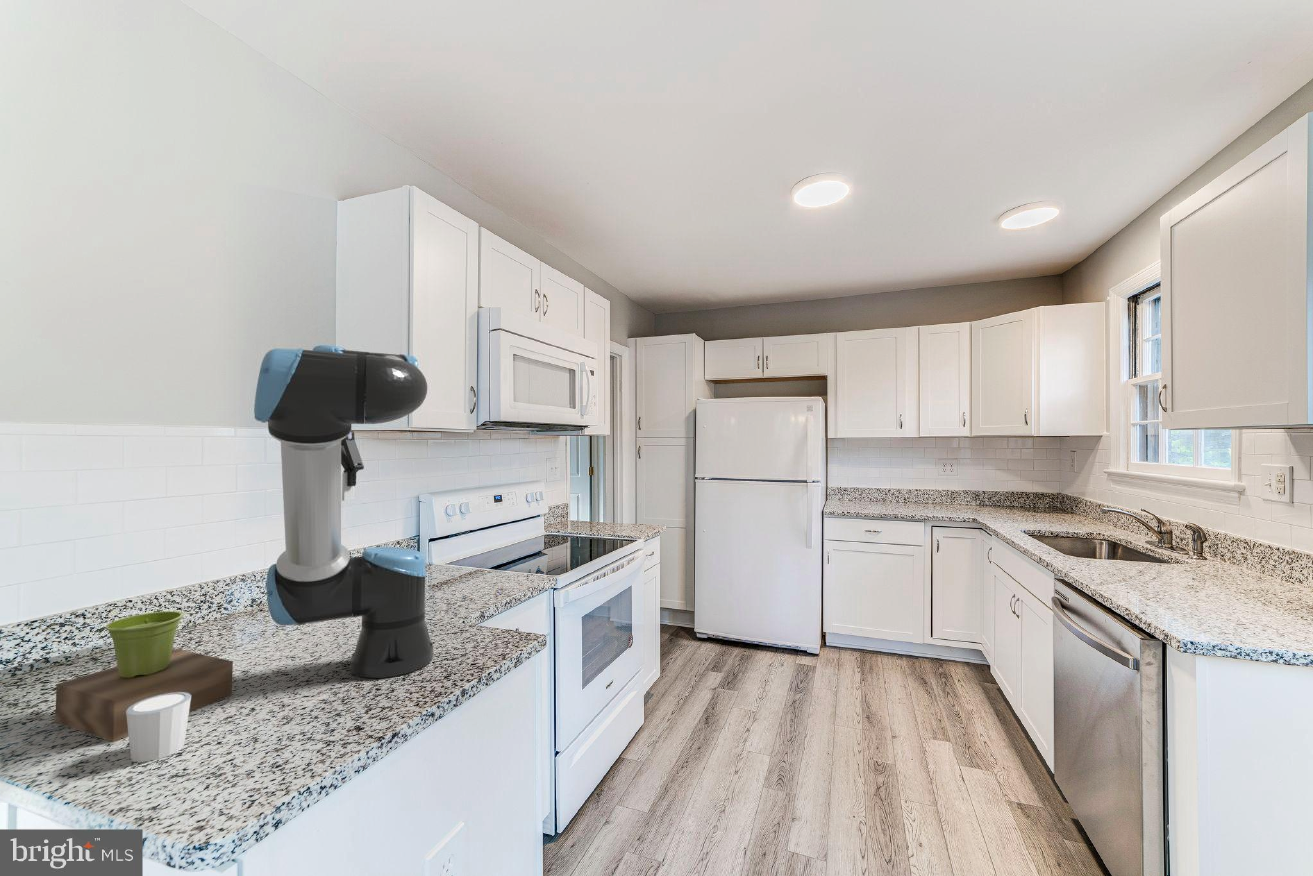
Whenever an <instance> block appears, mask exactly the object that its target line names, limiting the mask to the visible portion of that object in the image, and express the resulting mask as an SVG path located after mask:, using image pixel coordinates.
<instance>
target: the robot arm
mask: <svg viewBox="0 0 1313 876" xmlns="http://www.w3.org/2000/svg"><path fill="white" fill-rule="evenodd" d="M418 363H419V362H418V358H417V357H416V356H413V355H406V354H396V353H395V354H393V353H381V352H369V351H359V350H348V349H346V348H344V347H340V346H335V345H327V344H326V345H324V344H323V345H316V346H313V348H312V350H311V349H303V347H301V348H298V349H297V348H274V349H271V350H269V351H267V352H266V353H265V355H264V357H263V358H262V361H261V365H260V369H259V371H258V372H259V373H258V378H257V385H256V390H255V396H254V404H253V405H254V406H253V407H254V408H253V413H254V419H255V420H256V421H257V422H261V423H265V424H266V423H267V429H268V433H269V435H270V436H271V437H272V438H273V439H275V440H276V441H279V442H280V457H281V459H280V460H281V473H282V476H281V477H282V478H281V479H282V480H281V481H282V498H283V499H282V500H283V518H284V519H283V520H284V539H285V540H284V541H285V542H284V543H285V545H284V546H285V550H284V551H283V552H282V553H281V554H280V555H279V556H278V558H277V560H276V563H273V564H272V565H270V566H269V568H268V569H267V570H268V571H267V574H266V582H265V583H266V585H265V586H266V587H265V588H266V589H265V590H266V595H267V596H266V601H267V606H268V611H269V615H270V617H271V619H272V620H273V622H274V623H275V624H277V625H279V626H302V625H303V626H304V625H306V624H312V623H313V624H315V623H319V622H322V623H323V622H327V621H334V620H341V619H342V620H343V619H350V618H359V617H361V629H360V633H359V635H358V640H357V643H356V644H355V645H356V646H355V650H354V651H353V653H352V656H350V657H351V658H350V672H351V674H352V675H354V676H357V677H360V678H366V679H381V678H382V679H383V678H390V677H396V676H401V675H405V674H408V673H409V674H410V673H412V672H414V671H418V670H420V669H422V668H424V667H426V666H427V665H429V664H430V663H431V662H432V661H433V659H434V644H433V642H432V641H431V637H430V634H429V630H428V627H427V624H426V617H425V615H426V577H427V575H428V574H427V571H426V557H425V556H424V554H423V553H422V552H420V551H418V550H416V549H411V548H405V547H398V546H394V547H393V546H377V547H374V546H373V547H368V548H367V547H366V548H365V549H364V550H363V552H362V553H361V556H355V557H354V556H353V557H351V555H350V551H349V549H348V548H347V547H346V546H345V545H343V544H342V502H343V501H344V502H345V501H346V502H347V501H355V499H356V498H355V496H356V493H355V492H356V491H355V488H356V487H355V486H356V485H357V474H358V472H359V471H360V470H361V471H362V470H364V469H365V465H364V463H363V461H362V457H361V455H360V452H359V451H360V450H359V448H358V446H357V442H356V439H355V437H356V436H355V432H354V430H352V425H353V424H357V425H375V424H383V423H388V422H392V421H396V420H399V419H401V418H404V417H407V416H408V415H411V413H414V412H415V411H416V410H418V409H419V408H420V407H421V406H422V405H423V404H424V402H425V399H426V397H427V395H428V383H427V379H426V377H425V375H424V373H422V371H421V370H420V369H419V366H418V365H419V364H418ZM342 468H343V471H342Z"/></svg>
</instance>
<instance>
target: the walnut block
mask: <svg viewBox="0 0 1313 876" xmlns="http://www.w3.org/2000/svg"><path fill="white" fill-rule="evenodd" d="M233 664H234V661H232V660H228V659H224V658H220V657H215V656H212V655H211V656H210V655H206V654H201V653H197V652H192V651H189V650H183V649H178V648H176V649H172V653H171V658H170V663H169V665H168V666H167V668H165V669H163V670H161V671H158V672H155V673H153V674H150V675H137V676H135V677H132V678H124V677H120V676H119V672H118V666H114V667H111V668H107V669H104V670H103V669H102V670H100V671H97V672H93V673H91V674H90V673H89V674H87V675H83V676H79V677H77V678H74V679H73V678H72V679H70V680H66V681H63V682H59V683H56V686H55V689H56V690H55V717H54V723H57V724H60V725H62V726H64V727H65V726H66V727H68V728H71V729H74V730H77V731H79V732H82V733H86V734H88V735H92V736H95V737H97V736H98V737H97V738H101V739H103V738H105V739H104V740H106V739H107V741H109V740H110V741H109V742H112V743H115V742H117V741H119V739H120V740H121V738H122V739H124V738H127V737H129V735H128V725H127V715H126V711H127V709H128V708H129V707H130V706H132V705H133V704H135V703H137V702H139V701H142V700H144V699H147V698H150V697H154V696H157V695H162V694H167V693H176V692H185V693H189V694H190V695H191V701H190V708H189V713H191V712H193V711H195V710H199V709H200V708H204V707H206V706H208V704H209V705H210V704H213V703H216V702H219V701H221V700H223V699H226V698H225V697H227V698H228V697H229V698H230V697H231V695H232V696H233V672H234V671H233V669H234V667H233V666H234V665H233ZM220 699H221V700H220ZM218 700H219V701H218ZM114 741H115V742H114Z"/></svg>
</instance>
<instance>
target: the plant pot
mask: <svg viewBox="0 0 1313 876" xmlns="http://www.w3.org/2000/svg"><path fill="white" fill-rule="evenodd" d="M183 616H184V613H182V611H176V610H175V611H173V610H170V611H168V610H167V611H153V612H147V613H142V614H136V615H131V616H127V617H122V618H119V619H117V620H113V621H111V622H109V623H107V624H106V625H105V627H104V628H105V630H106V631H108V633H109V636H110V638H111V639H112V642H113V648H114V654H115V660H116V665H117V666H118V672H119V676H120V677H124V678H132V677H135V676H137V675H150V674H153V673H155V672H158V671H161V670H163V669H165V668H167V666H168V665H169V663H170V658H171V653H172V650H173V646H174V641H175V635H176V633H177V632H176V630H177V627H178V626H179V624H180V619H181V618H183ZM117 666H116V667H117Z"/></svg>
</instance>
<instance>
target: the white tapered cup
mask: <svg viewBox="0 0 1313 876" xmlns="http://www.w3.org/2000/svg"><path fill="white" fill-rule="evenodd" d="M190 701H191V695H190V694H189V693H185V692H176V693H167V694H162V695H157V696H154V697H150V698H147V699H144V700H142V701H139V702H137V703H135V704H133V705H132V706H130V707H129V708H128V709H127V711H126V715H127V725H128V735H129V736H128V741H129V742H128V743H129V755H130V760H131V759H132V760H133V761H137V762H136V763H143V762H142V761H149V762H151V761H150V760H153V761H157V760H160V759H159V758H161V759H163V758H166V757H169V756H171V755H173V754H175V753H177V752H178V751H180V750H181V749H182V748H184V745H185V742H186V736H187V729H188V728H187V727H188V722H189V721H188V720H189V715H190V712H189V708H190ZM156 759H157V760H156ZM132 760H131V761H132ZM133 761H132V762H133Z"/></svg>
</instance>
